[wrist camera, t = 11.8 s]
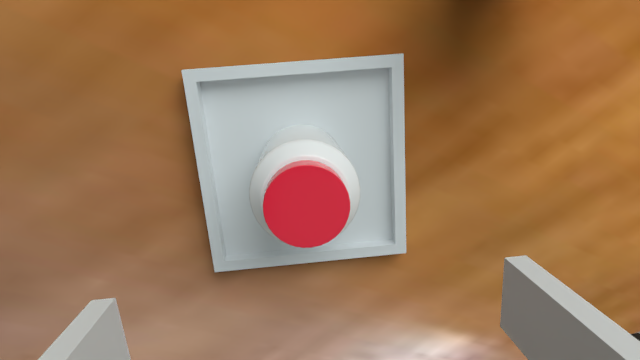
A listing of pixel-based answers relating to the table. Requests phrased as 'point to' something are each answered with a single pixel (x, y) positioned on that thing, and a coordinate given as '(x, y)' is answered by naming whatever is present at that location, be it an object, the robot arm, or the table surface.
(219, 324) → the table surface
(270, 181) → the pill bottle
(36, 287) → the table surface
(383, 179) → the tray
